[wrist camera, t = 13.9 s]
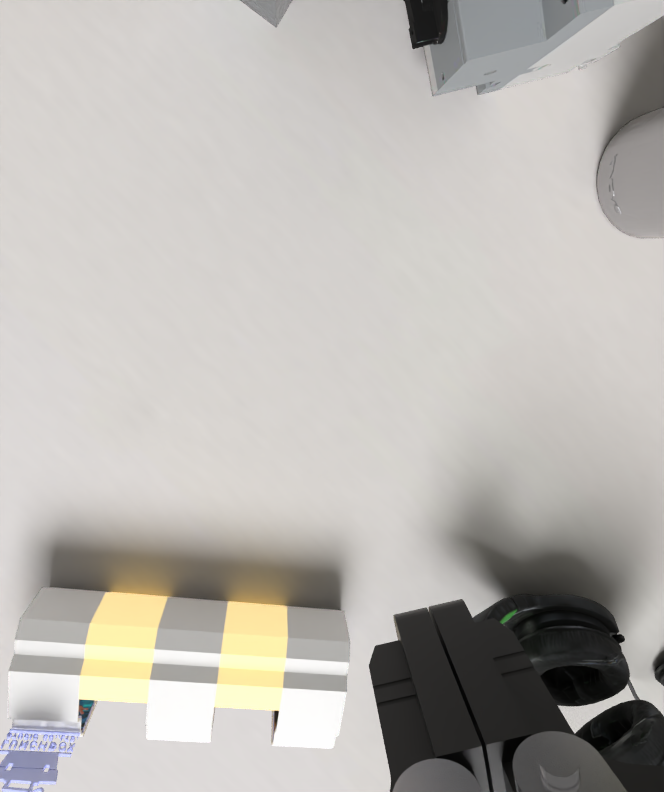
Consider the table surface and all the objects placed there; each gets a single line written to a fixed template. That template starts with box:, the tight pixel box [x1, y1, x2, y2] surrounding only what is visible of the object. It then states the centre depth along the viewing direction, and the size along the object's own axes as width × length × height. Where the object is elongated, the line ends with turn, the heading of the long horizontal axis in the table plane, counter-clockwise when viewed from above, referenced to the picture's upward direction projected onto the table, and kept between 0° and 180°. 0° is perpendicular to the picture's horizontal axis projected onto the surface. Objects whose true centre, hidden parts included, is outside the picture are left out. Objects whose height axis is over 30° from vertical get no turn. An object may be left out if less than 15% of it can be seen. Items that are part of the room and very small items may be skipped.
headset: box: [473, 594, 664, 766], centre depth 46 cm, size 18×14×29 cm
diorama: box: [0, 587, 350, 792], centre depth 45 cm, size 25×10×13 cm, turn 81°
